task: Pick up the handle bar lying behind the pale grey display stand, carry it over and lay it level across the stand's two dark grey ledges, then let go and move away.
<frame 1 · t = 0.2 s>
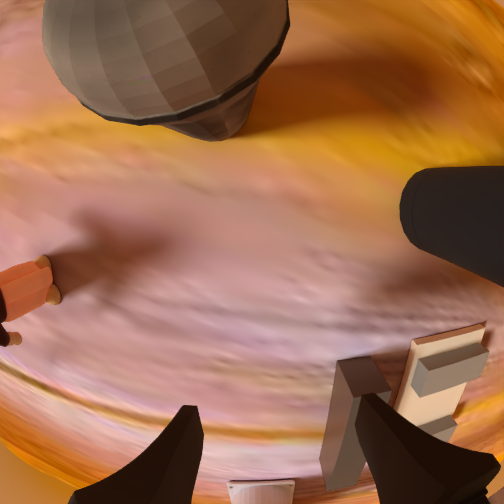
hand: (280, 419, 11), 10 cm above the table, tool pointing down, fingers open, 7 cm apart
beverage cup: (214, 110, 17), on the table
wine bottle: (430, 209, 19), on the table
handle bar: (342, 415, 23), on the table
grandmother figurine: (45, 273, 20), on the table
display stand: (429, 396, 23), on the table
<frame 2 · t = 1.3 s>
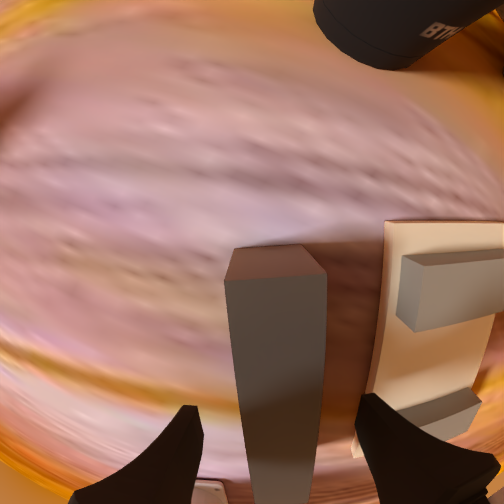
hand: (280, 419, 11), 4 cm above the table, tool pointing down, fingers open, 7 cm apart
wine bottle: (368, 24, 11), on the table
handle bar: (274, 372, 15), on the table
display stand: (433, 351, 14), on the table
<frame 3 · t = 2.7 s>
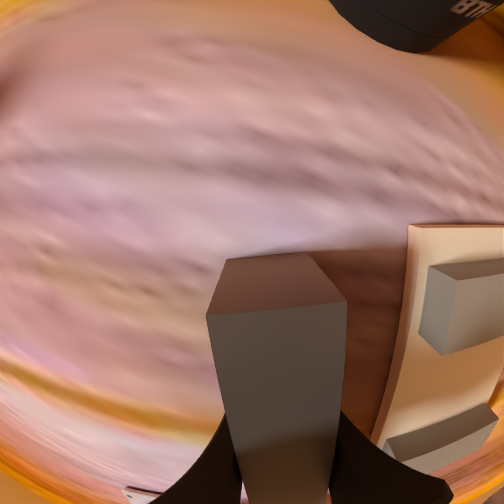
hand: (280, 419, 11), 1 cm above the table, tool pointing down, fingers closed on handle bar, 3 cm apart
wine bottle: (384, 3, 8), on the table
handle bar: (278, 399, 12), on the table, touching gripper
display stand: (452, 367, 12), on the table
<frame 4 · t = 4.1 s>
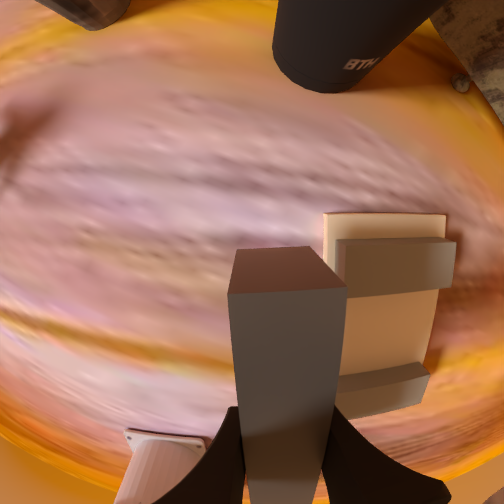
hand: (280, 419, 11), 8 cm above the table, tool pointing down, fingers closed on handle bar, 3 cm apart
beverage cup: (106, 10, 14), on the table
wine bottle: (319, 54, 15), on the table
handle bar: (275, 383, 13), point 6 cm above the table, touching gripper
display stand: (378, 324, 19), on the table
tabletop clock: (461, 75, 15), on the table
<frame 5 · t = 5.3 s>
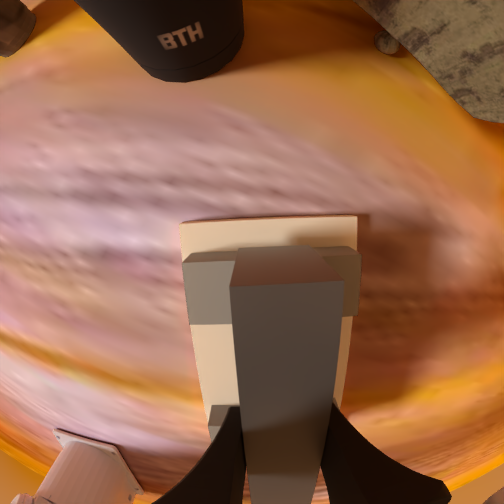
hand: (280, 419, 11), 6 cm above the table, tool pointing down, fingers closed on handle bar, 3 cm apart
beverage cup: (18, 35, 12), on the table
wine bottle: (189, 39, 13), on the table
handle bar: (276, 380, 14), point 3 cm above the table, touching display stand, gripper
display stand: (272, 351, 17), on the table
tabletop clock: (395, 36, 12), on the table
when the fingers open (6 cm above the table, at t = 6.0 s): handle bar stays where it is, resting on display stand.
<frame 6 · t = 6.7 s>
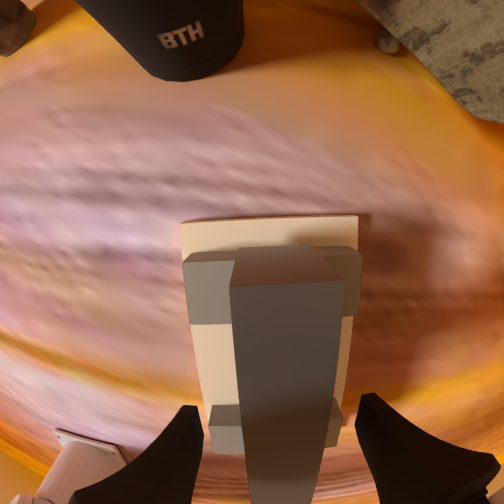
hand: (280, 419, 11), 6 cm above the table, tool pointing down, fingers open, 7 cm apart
beverage cup: (18, 35, 11), on the table
wine bottle: (189, 38, 13), on the table
handle bar: (276, 380, 14), point 3 cm above the table, touching display stand
display stand: (273, 351, 16), on the table
tabletop clock: (396, 35, 12), on the table
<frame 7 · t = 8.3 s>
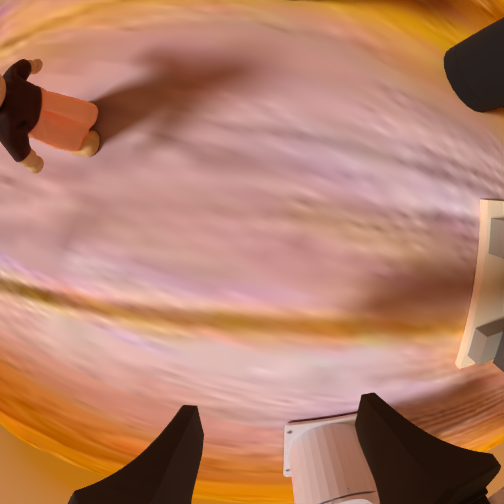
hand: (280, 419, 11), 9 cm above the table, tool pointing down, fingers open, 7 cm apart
wine bottle: (468, 79, 16), on the table
grandmother figurine: (84, 124, 17), on the table
display stand: (500, 283, 19), on the table
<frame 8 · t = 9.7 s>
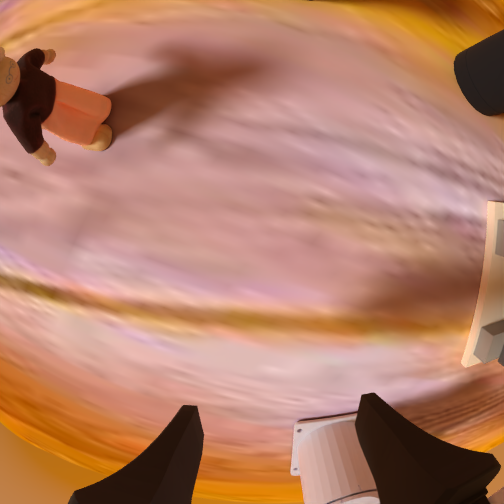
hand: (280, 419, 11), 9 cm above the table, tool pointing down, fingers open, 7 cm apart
wine bottle: (476, 83, 16), on the table
grandmother figurine: (96, 117, 17), on the table
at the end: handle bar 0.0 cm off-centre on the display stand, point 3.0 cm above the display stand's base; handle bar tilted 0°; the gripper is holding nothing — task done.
